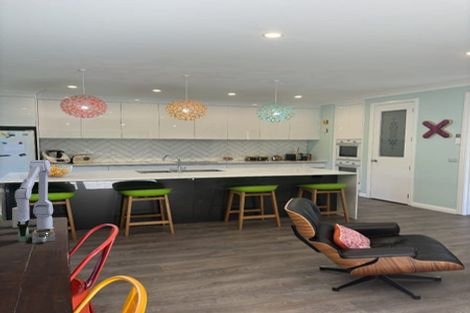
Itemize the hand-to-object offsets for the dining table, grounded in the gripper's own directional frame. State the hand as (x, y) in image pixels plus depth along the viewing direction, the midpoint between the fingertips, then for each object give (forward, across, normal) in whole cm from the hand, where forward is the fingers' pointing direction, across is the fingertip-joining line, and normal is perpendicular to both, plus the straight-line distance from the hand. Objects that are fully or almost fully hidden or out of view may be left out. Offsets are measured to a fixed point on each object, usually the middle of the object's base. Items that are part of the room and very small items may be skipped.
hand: (23, 234), depth 201 cm
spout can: (+3, 0, 0) cm, 3 cm away
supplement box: (+3, -41, -2) cm, 41 cm away
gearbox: (+3, +3, +10) cm, 11 cm away
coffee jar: (+3, -39, +11) cm, 41 cm away
